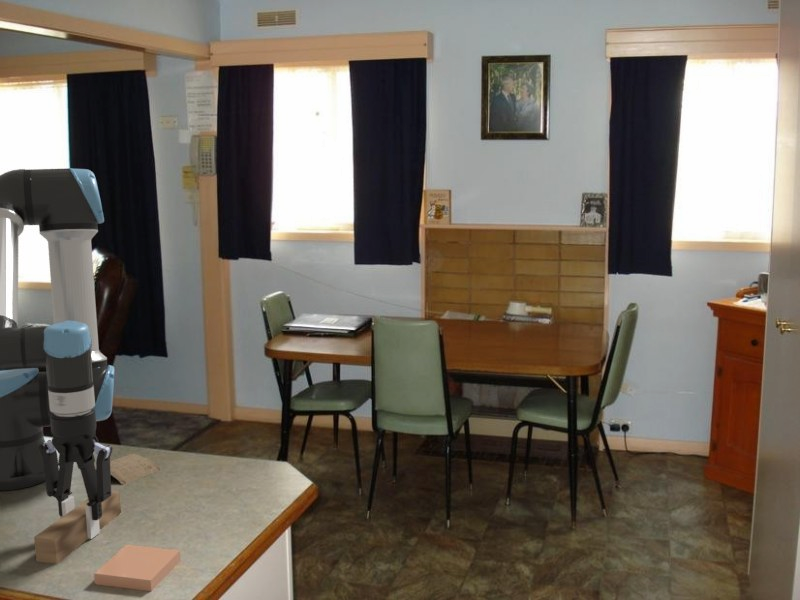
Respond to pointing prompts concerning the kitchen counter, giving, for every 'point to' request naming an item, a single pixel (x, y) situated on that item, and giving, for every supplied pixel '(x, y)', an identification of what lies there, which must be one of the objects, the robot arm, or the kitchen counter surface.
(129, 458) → the curved brown bark piece
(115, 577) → the terracotta tile
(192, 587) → the kitchen counter surface
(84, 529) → the walnut stick
